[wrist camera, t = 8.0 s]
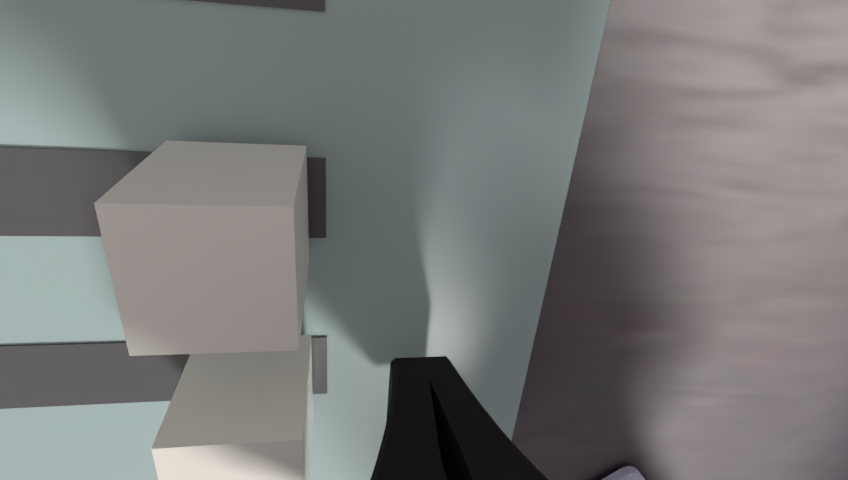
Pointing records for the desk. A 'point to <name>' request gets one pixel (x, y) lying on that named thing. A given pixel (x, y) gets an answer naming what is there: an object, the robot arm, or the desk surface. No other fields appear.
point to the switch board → (327, 198)
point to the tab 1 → (210, 248)
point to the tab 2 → (239, 418)
